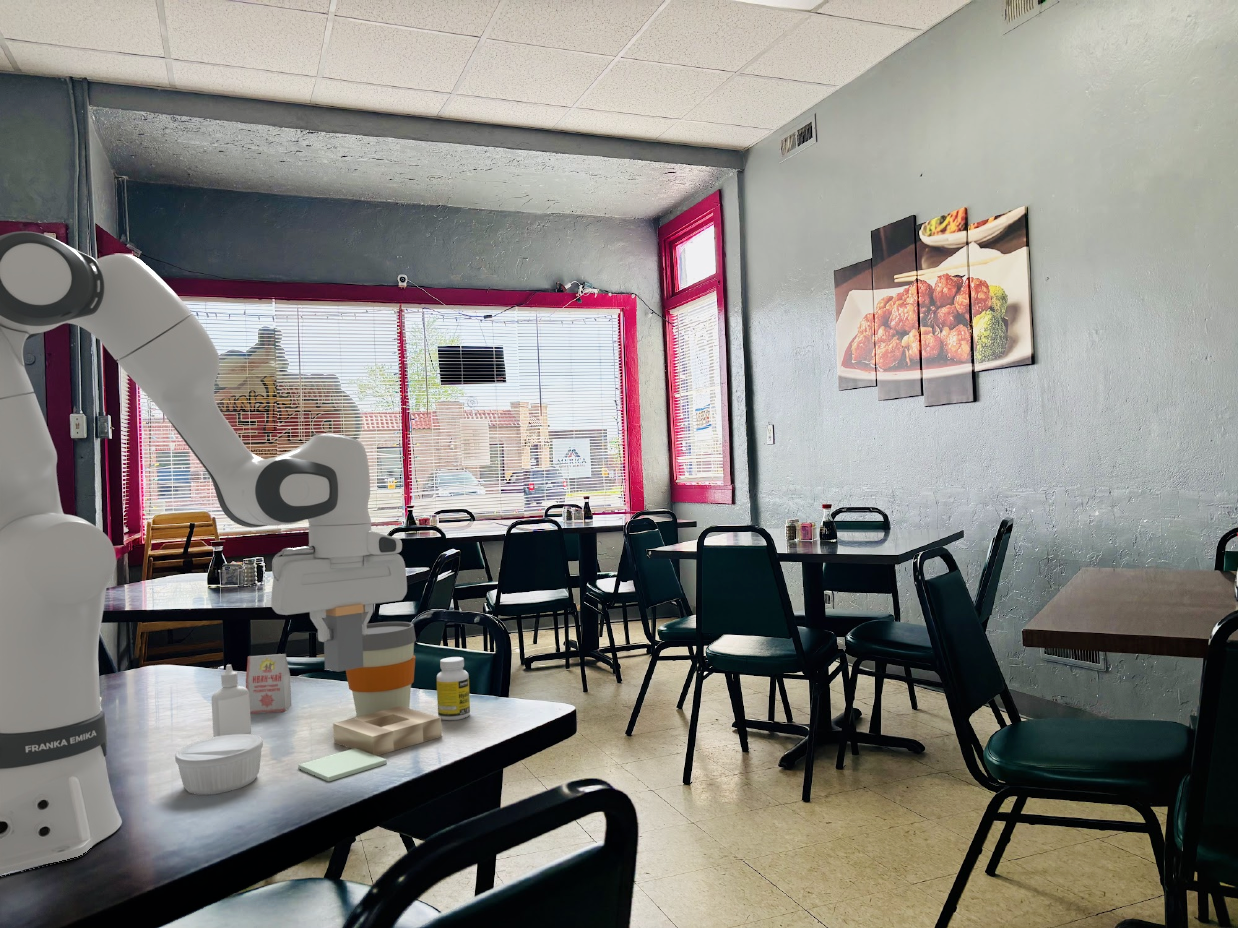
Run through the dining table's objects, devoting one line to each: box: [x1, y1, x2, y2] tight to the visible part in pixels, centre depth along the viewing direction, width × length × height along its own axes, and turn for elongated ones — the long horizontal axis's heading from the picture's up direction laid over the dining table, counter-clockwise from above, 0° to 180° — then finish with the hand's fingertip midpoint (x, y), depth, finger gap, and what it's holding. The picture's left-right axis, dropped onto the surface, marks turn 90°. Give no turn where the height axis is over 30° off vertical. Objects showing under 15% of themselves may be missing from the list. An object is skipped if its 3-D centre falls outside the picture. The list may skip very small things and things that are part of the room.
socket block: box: [332, 706, 443, 757], centre depth 141 cm, size 12×12×3 cm
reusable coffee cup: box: [345, 621, 417, 717], centre depth 157 cm, size 13×13×15 cm
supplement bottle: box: [436, 656, 471, 721], centre depth 152 cm, size 5×5×10 cm
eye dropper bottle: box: [211, 664, 252, 737], centre depth 147 cm, size 4×6×12 cm
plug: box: [322, 604, 364, 673], centre depth 132 cm, size 4×4×9 cm
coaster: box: [297, 748, 388, 782], centre depth 129 cm, size 9×9×1 cm
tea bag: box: [245, 653, 293, 715], centre depth 164 cm, size 4×7×10 cm, turn 93°
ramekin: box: [174, 734, 264, 795], centre depth 125 cm, size 11×11×5 cm
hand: (342, 638), depth 132 cm, fingers closed on plug, 4 cm apart
